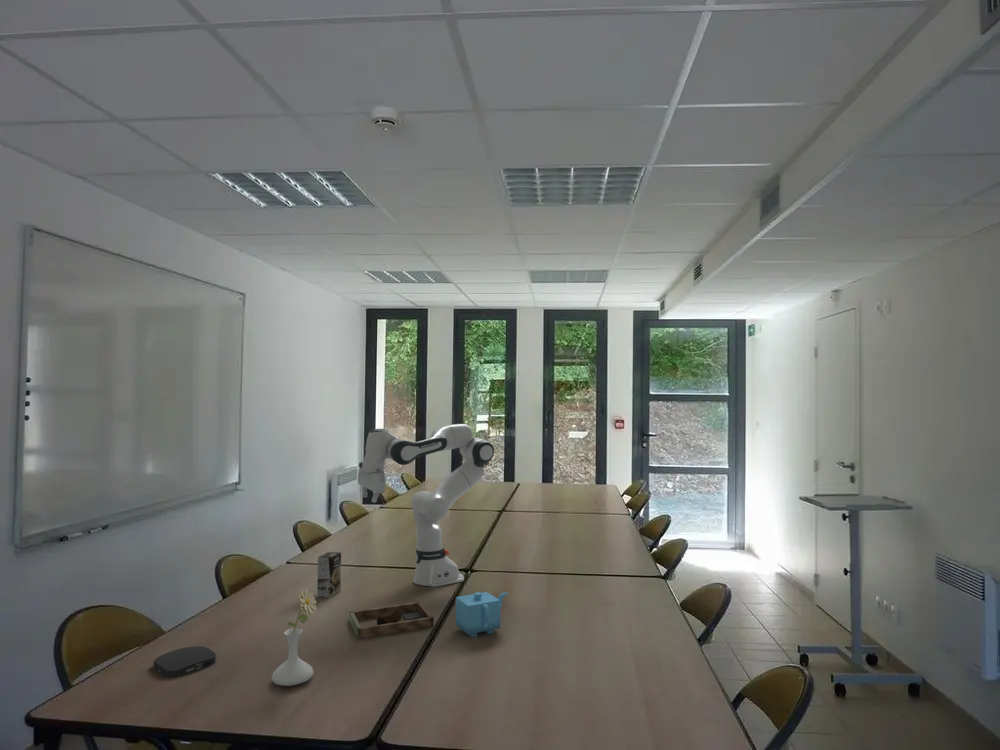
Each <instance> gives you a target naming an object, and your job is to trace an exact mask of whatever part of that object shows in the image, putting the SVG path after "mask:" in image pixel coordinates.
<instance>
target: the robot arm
mask: <svg viewBox="0 0 1000 750" xmlns="http://www.w3.org/2000/svg"><path fill="white" fill-rule="evenodd" d="M473 434H474V433H473V430H472V428H471V427H470V425H468V424H466V423H454V424H453V423H452V424H448V425H443V426H439V427H437V428H435V429H433V431H432V432H431V435H430V438H426V439H423V440H419V441H416V442H413V441H409V440H406V439H405V440H404V439H402V438H399V437H397V436H395V435H394V434H392V433H391V432H389V430H388V429H385V428H374V429H371V430H369V432H368V434H367V438H366V444H365V455H364V456H363V457H364V458H363V461H359V463H358V473H357V484H358V485H360V486H361V491H362V492H361V493H362V495H361V496H362V498H368V494H369V493H368V490H370V491H372V492H373V496H372V497H371V502H372V503H377V502H378V498H379V496H380V494H384V493H385V491H386V484H387V483H386V482H387V477H386V475H385V473H384V471H385V466H386V460H387V459H390V460H391V461H393V462H395V463H396V464H398V465H402V466H406V465H409V464H411V463H412V462H414V461H415V460H416V459H418V458H420V457H424V456H427V455H431V454H434V453H437V452H445V451H451V450H455V449H457V452H458V454H459V455H460V457H462V458H463V459H464V462H463V463H462V464H461V465H459V467H456V469H455V470H453V471H452V472H450V474H448V475H446V476H445V477H444V478H442V480H441V482H440V484H438V486H437V487H436V488H435V490H433V491H429V490H420V491H417V492H415V494H413V495H412V498H411V500H410V501H411V508H412V511H413V516H414V522H415V527H416V549H415V562H416V564H415V571H414V576H413V580H412V582H413V583H414V584H416V585H419V586H426V587H427V586H428V587H432V588H436V587H441V586H445V585H451V584H456V583H460V582H464V581H465V577H464V574H462V573H461V572H460V571H459V567H458V565H457V564H456V562H454V560H452V559H450V558H449V557H448V555H449V554H450V551H449V550H448V549H445V548H444V547H443V546H442V545H443V541H442V539H443V532H442V527H441V526H440V525H441V524H440V522H439V520H443V519H444V518H445V517H446V516H447V515H448V514H449V511H450V508H451V507H452V506H453V505H454V503H455V502H456V501H457V500H458V499H460V497H462V496H463V495H464V494H465V493H467V492H468V491H469V490H471V489H472V488H473V487H475V486H476V484H477V483H478V482H479V481H480V480H481V479H482V478H483V476H484V474H485V468H484V467H487V466H488V464H489V463H490V462H491V460H492V459H493V458H494V455H495V447H494V445H493V444H492V442H490V441H488V440H487V439H486V440H485V439H483V438H480V437H475V436H473Z"/></svg>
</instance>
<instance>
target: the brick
mask: <svg viewBox="0 0 1000 750" xmlns="http://www.w3.org/2000/svg"><path fill="white" fill-rule="evenodd" d="M391 606H392V607H391V608H389V609H387V610H386V611H384V612H383V613H381V614H380V615H379V617H376V618H377V619H376V625H382V624H388V623H395V622H401V620H402V615H401V608H400V607H394V605H391Z"/></svg>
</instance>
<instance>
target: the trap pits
mask: <svg viewBox="0 0 1000 750" xmlns="http://www.w3.org/2000/svg"><path fill="white" fill-rule="evenodd" d="M401 617H402V618H403V619H404V621H408V620H415V619H421V618H422V616H421V615H420V614H419V613H418V611H416V612H409V613H402V614H401Z"/></svg>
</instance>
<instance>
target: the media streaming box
mask: <svg viewBox="0 0 1000 750" xmlns="http://www.w3.org/2000/svg"><path fill="white" fill-rule="evenodd" d="M212 664H213V665H214V664H216V652H214V651H213V649H210V647H207V646H204V645H203V646H199V645H198V646H197V645H196V646H187V647H182V648H177V649H175V650H170V651H168V652H166V653H164V654H161V655H159V656H158V657H156V658H154V660H153V669H154V670H155V671H156V672H158V674H160V675H162V676H163V677H165V678H178V677H182V676H185V675H188V674H190V673H194V672H196V671H200V670H202V668H203V669H205V667H206V668H208V667H211V666H213V665H212ZM210 665H211V666H210Z"/></svg>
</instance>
